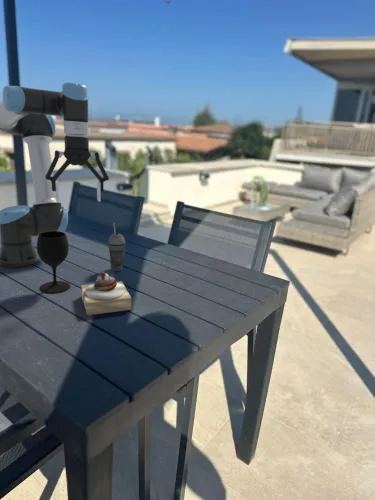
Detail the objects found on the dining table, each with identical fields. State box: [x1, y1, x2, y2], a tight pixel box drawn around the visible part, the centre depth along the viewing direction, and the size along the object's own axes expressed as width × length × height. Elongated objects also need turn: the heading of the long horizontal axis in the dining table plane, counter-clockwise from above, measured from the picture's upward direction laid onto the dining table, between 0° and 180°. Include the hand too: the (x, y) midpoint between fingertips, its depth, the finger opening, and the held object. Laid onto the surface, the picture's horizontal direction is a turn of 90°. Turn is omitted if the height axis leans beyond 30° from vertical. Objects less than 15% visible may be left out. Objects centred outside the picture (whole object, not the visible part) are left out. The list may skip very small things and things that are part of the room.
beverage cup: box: [107, 222, 126, 272], centre depth 145 cm, size 7×7×20 cm
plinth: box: [80, 281, 132, 316], centre depth 117 cm, size 14×14×5 cm
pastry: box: [93, 271, 118, 291], centre depth 118 cm, size 8×8×5 cm
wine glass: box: [36, 231, 71, 294], centre depth 124 cm, size 10×10×20 cm
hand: (78, 201), depth 120 cm, fingers open, 13 cm apart
